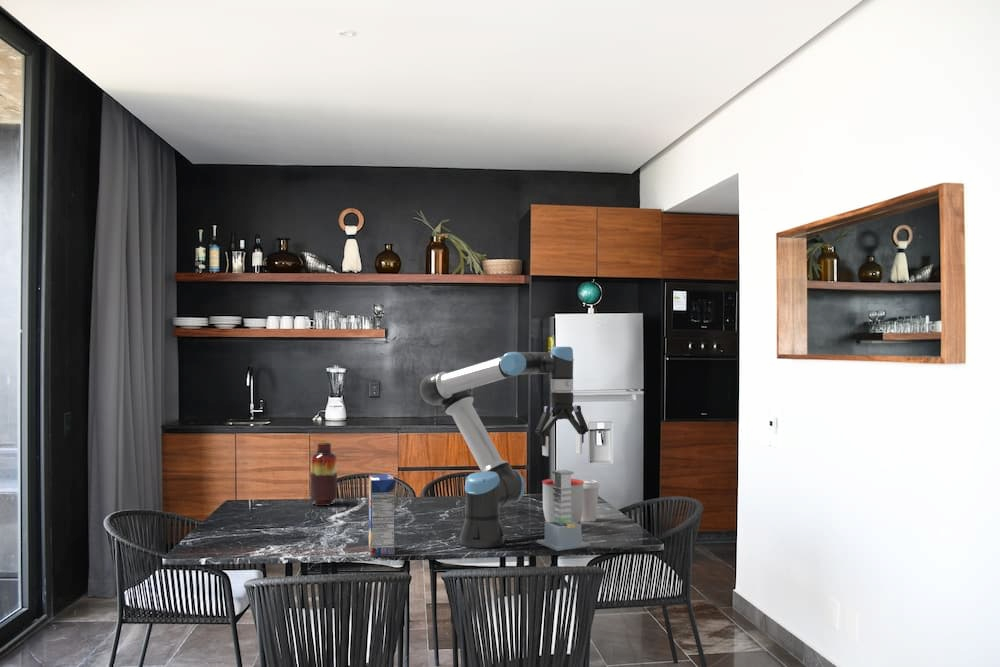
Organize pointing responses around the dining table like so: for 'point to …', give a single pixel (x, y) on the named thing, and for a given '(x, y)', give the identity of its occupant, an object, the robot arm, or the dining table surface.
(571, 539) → the stand base
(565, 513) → the column
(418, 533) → the dining table surface
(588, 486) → the coffee cup
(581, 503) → the citrus juicer
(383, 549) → the juice carton
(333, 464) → the vase
